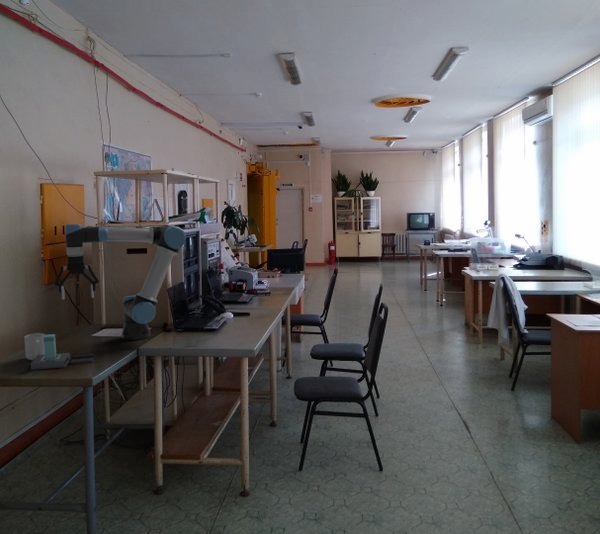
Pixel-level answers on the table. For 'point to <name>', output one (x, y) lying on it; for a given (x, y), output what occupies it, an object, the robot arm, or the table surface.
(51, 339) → the plug
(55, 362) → the port
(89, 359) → the dark grey square tray
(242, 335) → the table surface
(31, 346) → the mug
